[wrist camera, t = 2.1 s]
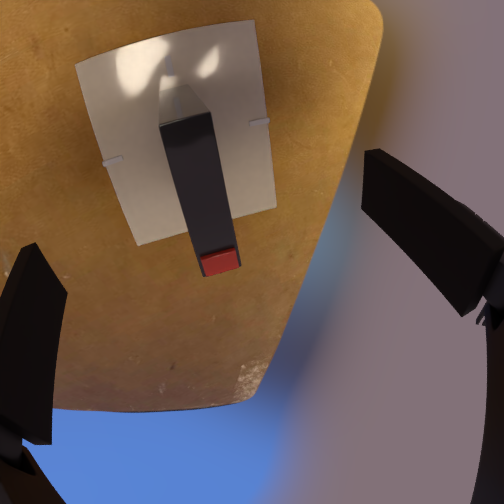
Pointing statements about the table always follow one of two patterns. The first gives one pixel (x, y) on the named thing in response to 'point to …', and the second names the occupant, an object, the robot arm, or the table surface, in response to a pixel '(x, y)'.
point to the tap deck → (147, 112)
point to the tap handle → (198, 178)
